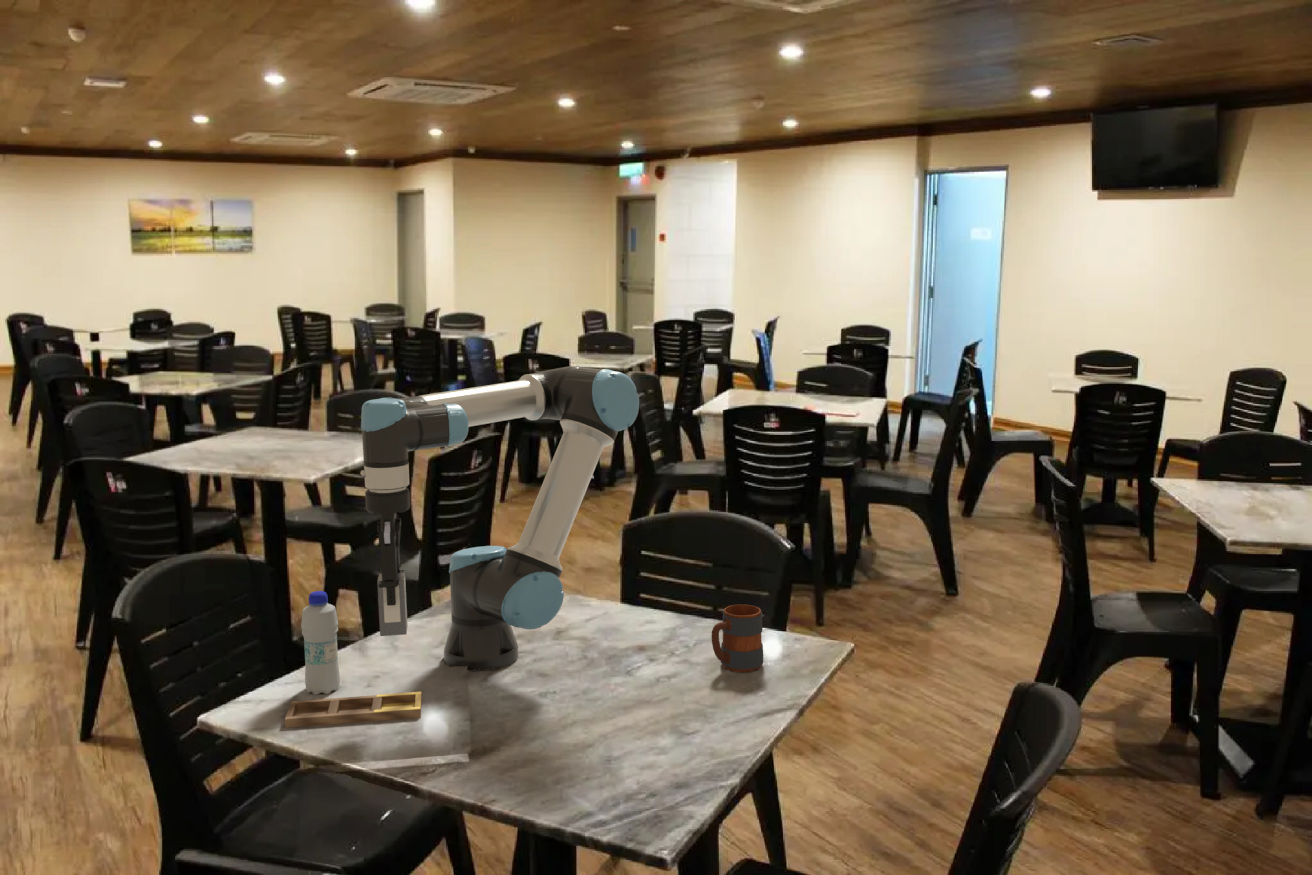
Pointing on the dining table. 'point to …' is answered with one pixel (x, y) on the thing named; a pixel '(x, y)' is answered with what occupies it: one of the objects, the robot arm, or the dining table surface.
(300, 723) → the wooden compartment tray
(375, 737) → the dining table surface
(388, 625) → the block
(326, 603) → the bottle
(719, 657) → the mug
